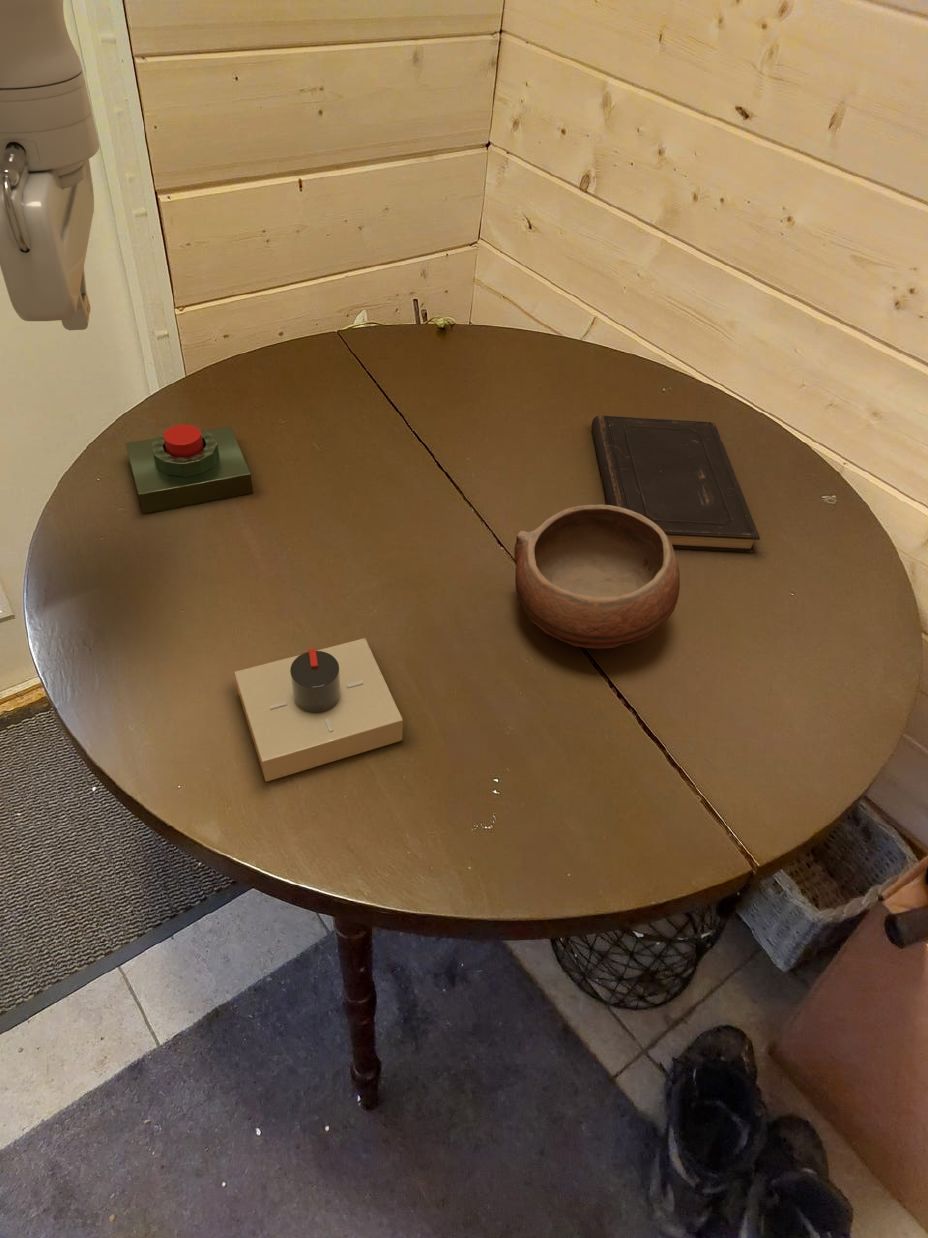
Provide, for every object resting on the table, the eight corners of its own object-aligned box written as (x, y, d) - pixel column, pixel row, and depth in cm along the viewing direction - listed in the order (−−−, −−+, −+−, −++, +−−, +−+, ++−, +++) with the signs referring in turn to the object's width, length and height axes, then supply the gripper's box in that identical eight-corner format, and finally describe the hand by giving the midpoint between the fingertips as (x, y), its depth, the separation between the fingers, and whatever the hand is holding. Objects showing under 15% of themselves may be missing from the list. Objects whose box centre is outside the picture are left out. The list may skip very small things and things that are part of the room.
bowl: (489, 576, 87) (499, 500, 80) (623, 553, 91) (644, 480, 84) (544, 688, 77) (560, 613, 70) (691, 657, 81) (721, 584, 74)
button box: (143, 514, 90) (134, 480, 87) (130, 462, 96) (121, 429, 93) (253, 493, 94) (248, 460, 91) (233, 444, 100) (228, 412, 97)
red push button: (169, 460, 90) (166, 447, 89) (163, 440, 93) (160, 427, 92) (206, 454, 92) (204, 441, 90) (199, 434, 94) (197, 421, 93)
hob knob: (343, 709, 70) (342, 681, 67) (295, 716, 69) (292, 688, 66) (337, 674, 73) (335, 645, 70) (291, 680, 72) (287, 651, 69)
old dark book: (710, 437, 109) (715, 421, 107) (753, 553, 93) (760, 537, 91) (590, 429, 108) (593, 414, 106) (613, 546, 92) (617, 530, 90)
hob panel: (265, 782, 68) (261, 760, 66) (238, 693, 74) (233, 670, 72) (402, 740, 72) (403, 718, 70) (365, 659, 78) (365, 636, 76)
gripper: (58, 177, 48) (114, 389, 58) (85, 79, 62) (126, 264, 72) (-61, 178, 47) (17, 394, 57) (-8, 77, 60) (48, 266, 70)
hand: (78, 321), depth 64 cm, fingers closed
